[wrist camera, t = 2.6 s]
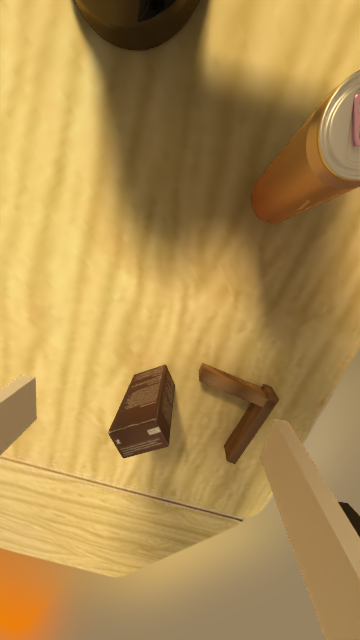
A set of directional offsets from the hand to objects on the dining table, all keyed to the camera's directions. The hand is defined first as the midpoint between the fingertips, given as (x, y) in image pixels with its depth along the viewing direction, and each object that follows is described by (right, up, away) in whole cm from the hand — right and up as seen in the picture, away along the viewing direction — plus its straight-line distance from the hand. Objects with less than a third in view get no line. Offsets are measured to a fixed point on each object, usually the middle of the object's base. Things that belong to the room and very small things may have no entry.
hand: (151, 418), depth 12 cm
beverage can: (+14, +21, +15) cm, 29 cm away
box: (-2, -5, +24) cm, 24 cm away
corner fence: (+8, -9, +24) cm, 27 cm away
